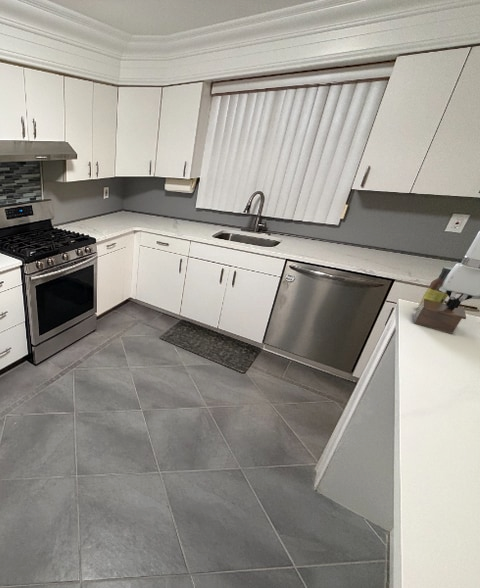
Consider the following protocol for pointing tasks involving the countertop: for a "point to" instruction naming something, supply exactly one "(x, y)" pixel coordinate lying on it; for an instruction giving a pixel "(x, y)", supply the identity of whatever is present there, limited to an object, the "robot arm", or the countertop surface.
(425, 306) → the hatch
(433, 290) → the sauce bottle
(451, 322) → the walnut box
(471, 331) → the countertop surface
